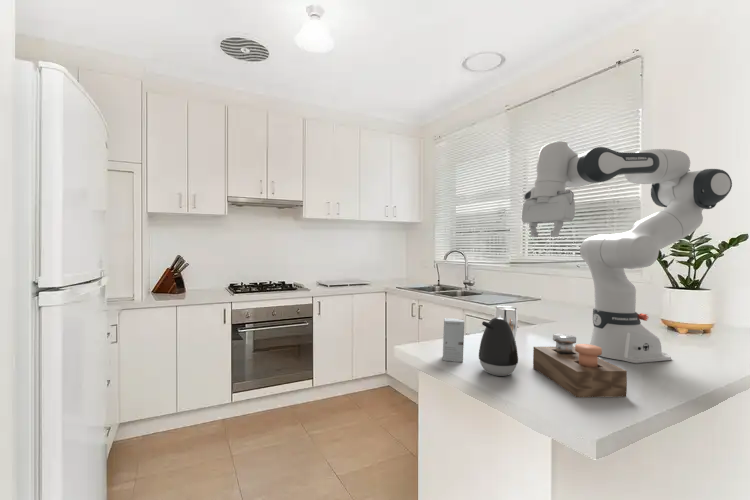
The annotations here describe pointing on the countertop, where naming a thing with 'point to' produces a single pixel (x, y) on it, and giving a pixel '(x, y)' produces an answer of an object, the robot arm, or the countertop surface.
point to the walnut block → (580, 374)
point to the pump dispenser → (498, 348)
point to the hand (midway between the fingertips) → (543, 236)
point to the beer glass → (508, 316)
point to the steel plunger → (564, 343)
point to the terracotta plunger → (588, 354)
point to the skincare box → (453, 339)
